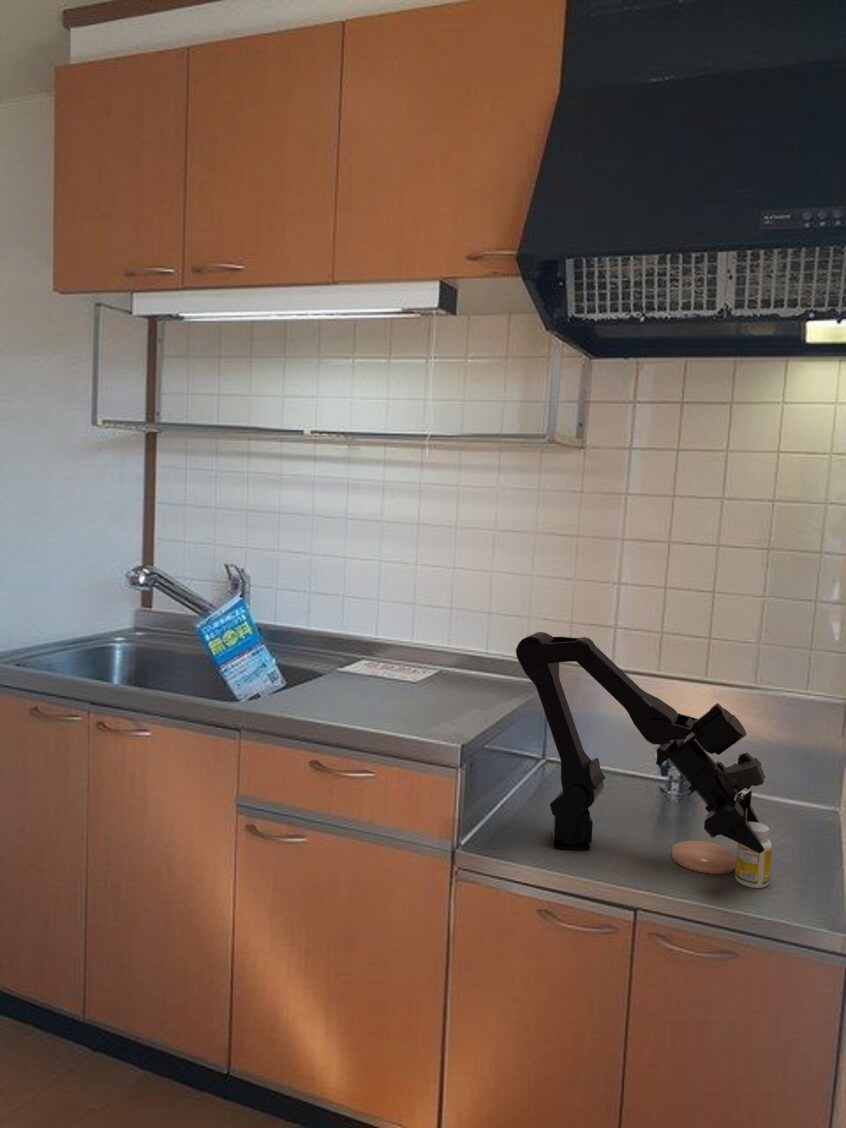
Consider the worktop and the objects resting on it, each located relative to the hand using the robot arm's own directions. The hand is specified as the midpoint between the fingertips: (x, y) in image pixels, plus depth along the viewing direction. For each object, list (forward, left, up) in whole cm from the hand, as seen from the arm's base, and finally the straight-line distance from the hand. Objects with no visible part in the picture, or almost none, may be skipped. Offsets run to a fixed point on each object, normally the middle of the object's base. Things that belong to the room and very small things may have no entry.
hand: (763, 845), depth 146 cm
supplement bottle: (-1, +1, -7) cm, 7 cm away
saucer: (-7, +8, -7) cm, 13 cm away
